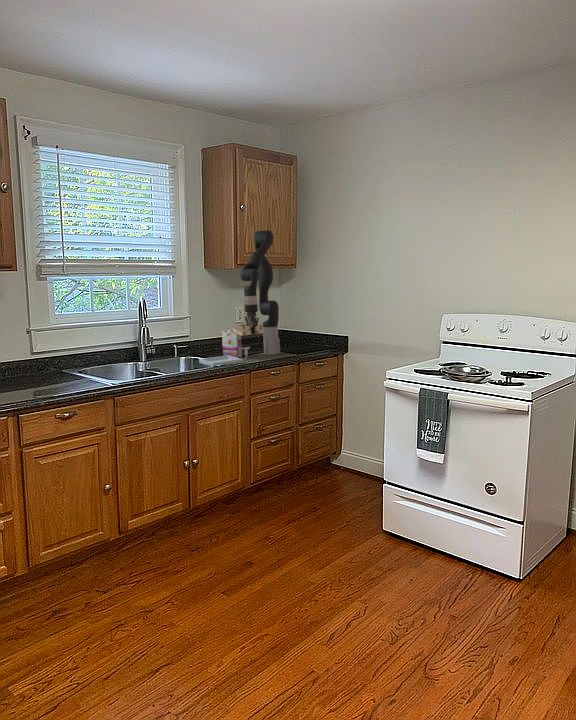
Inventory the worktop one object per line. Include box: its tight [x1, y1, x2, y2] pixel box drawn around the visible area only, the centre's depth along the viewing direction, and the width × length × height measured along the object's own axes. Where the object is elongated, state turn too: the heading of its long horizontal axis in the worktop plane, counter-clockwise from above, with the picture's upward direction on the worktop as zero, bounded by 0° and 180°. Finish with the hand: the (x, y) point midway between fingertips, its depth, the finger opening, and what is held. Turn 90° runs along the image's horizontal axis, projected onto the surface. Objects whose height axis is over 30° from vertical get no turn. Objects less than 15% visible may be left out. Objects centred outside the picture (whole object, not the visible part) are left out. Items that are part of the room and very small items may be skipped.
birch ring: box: [232, 323, 263, 337], centre depth 356 cm, size 14×13×5 cm
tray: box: [198, 355, 245, 367], centre depth 349 cm, size 19×19×2 cm
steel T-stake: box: [242, 346, 251, 360], centre depth 361 cm, size 5×2×7 cm, turn 122°
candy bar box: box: [221, 329, 243, 358], centre depth 369 cm, size 11×5×16 cm, turn 62°
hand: (252, 333), depth 352 cm, fingers closed on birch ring, 1 cm apart
